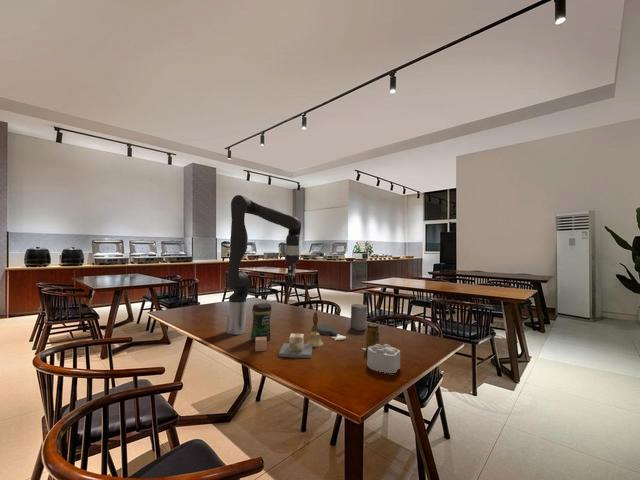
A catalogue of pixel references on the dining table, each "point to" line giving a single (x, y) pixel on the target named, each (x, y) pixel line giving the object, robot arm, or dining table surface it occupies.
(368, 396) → the dining table surface
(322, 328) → the spray bottle
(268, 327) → the coffee jar
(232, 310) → the robot arm
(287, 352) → the slate tile
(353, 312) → the pillar candle
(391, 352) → the lumpy-topped squat cylinder
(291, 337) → the birch cube
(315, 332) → the hand bell
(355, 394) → the dining table surface
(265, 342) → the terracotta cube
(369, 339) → the condiment
